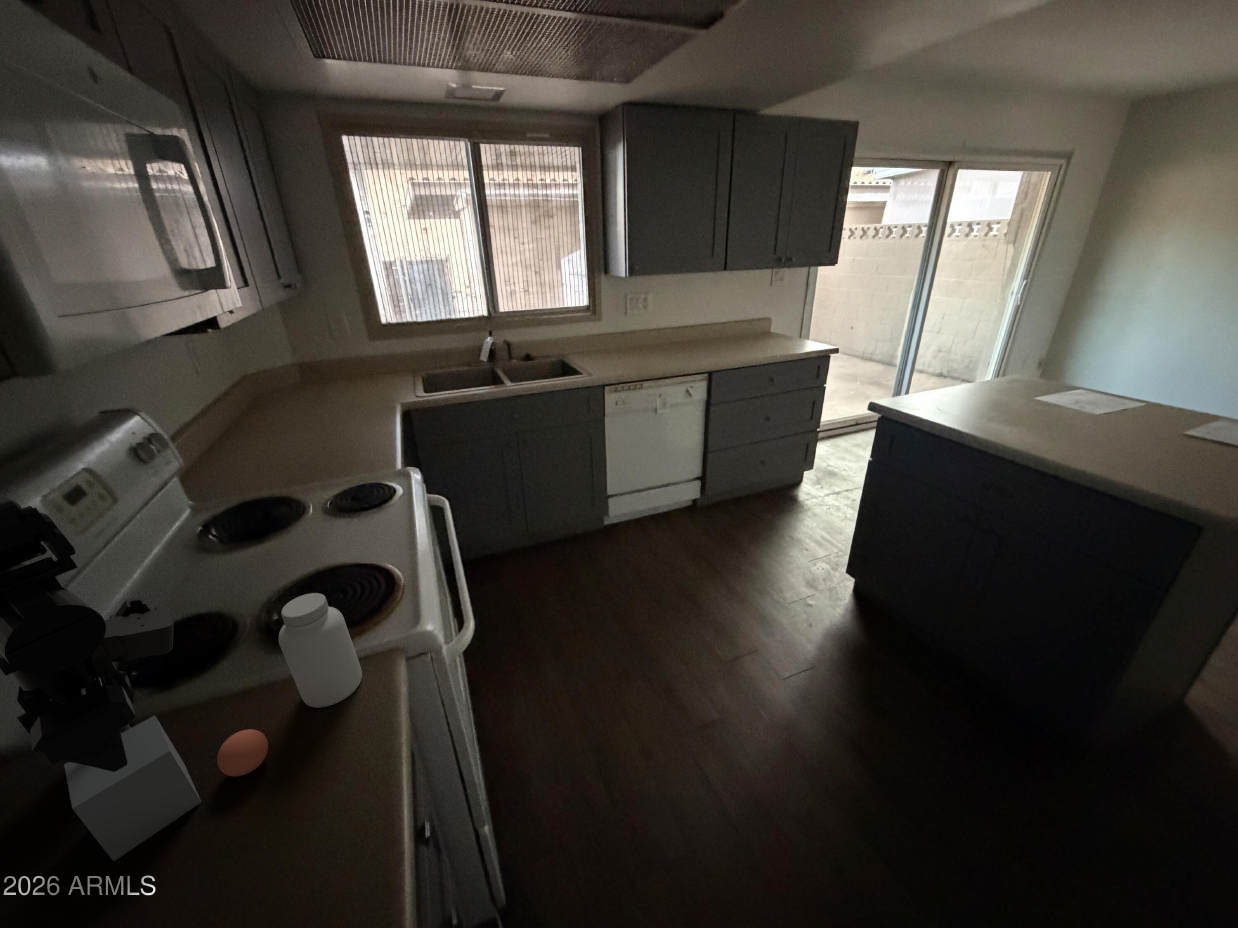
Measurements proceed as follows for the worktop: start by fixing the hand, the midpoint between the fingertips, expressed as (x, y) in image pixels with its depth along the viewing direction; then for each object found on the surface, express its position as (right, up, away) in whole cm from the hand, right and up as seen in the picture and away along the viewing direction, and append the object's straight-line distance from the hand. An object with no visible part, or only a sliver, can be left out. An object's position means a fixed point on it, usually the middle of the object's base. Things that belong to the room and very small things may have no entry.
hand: (113, 742), depth 53 cm
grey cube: (0, -10, +4) cm, 11 cm away
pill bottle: (+12, -3, +20) cm, 23 cm away
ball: (+8, -5, +8) cm, 12 cm away
